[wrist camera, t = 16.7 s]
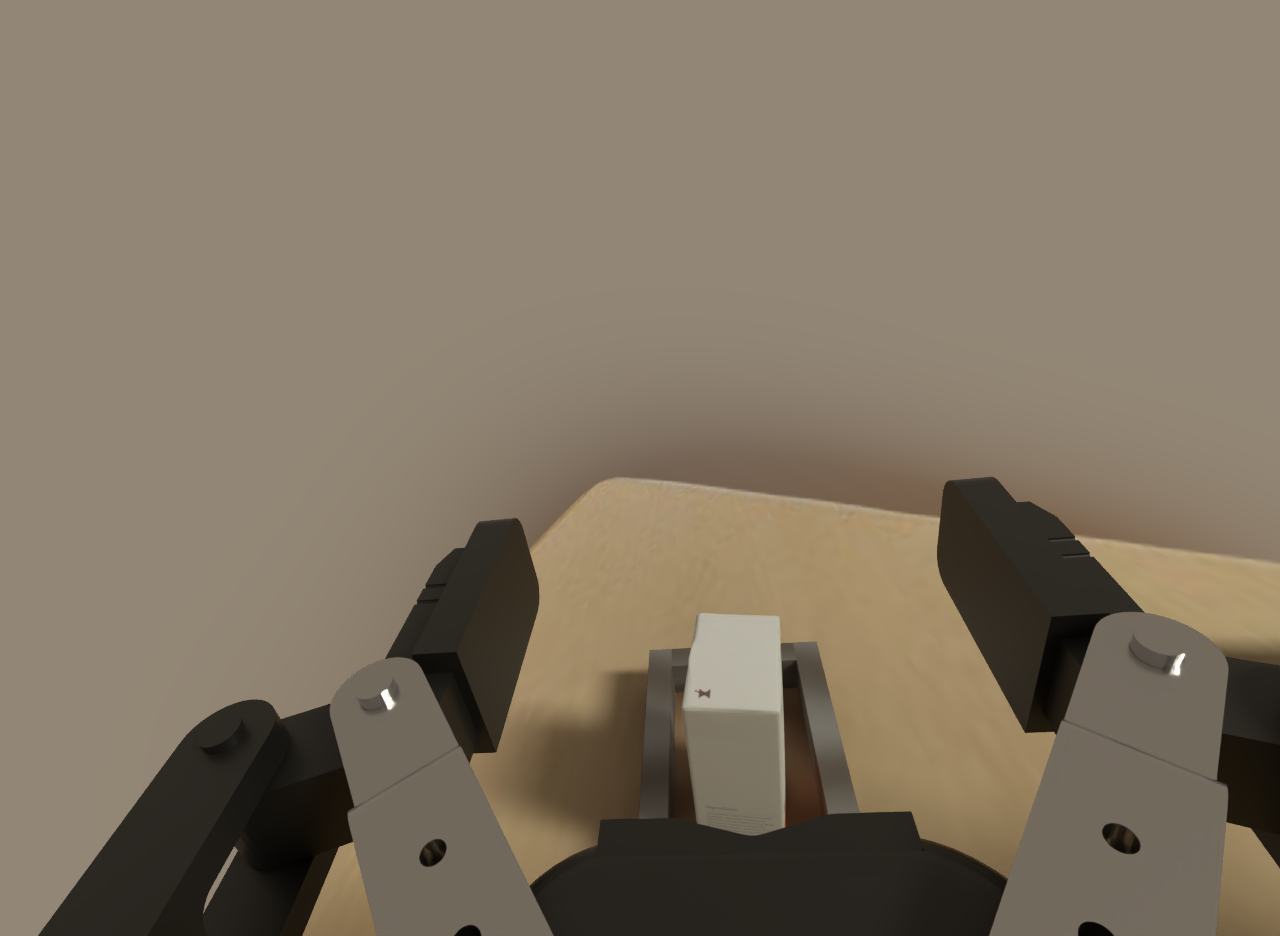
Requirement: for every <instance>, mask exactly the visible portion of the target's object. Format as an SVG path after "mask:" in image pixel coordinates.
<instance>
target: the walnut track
mask: <svg viewBox="0 0 1280 936" xmlns="http://www.w3.org/2000/svg"><path fill="white" fill-rule="evenodd" d="M690 650H691V648H683V649H664V650H650V654H649V669H648V684H647V699H646V715H645V730H644V745H643V760H642V775H641V791H640V806H639V819H650V818H676V819H680V820H685V821H689V822H693V823H697V821H696V812H695V805H694V797H693V790H692V782H691V776H690V768H689V760H688V753H687V746H686V740H685V733H684V725H683V715H682V703H683V696H684V689H685V683H686V676H687V670H688V660H689V654H690ZM781 661H782V685H783V713H784V746H785V827H788V826H791V825H795V824H798V823H802V822H805V821H808V820H812V819H815V818H818V817H822V816H825V815H829V814H837V813H859V809H858V805H857V801H856V797H855V793H854V789H853V785H852V781H851V777H850V773H849V769H848V765H847V762H846V758H845V754H844V750H843V746H842V742H841V738H840V734H839V730H838V726H837V722H836V718H835V714H834V710H833V706H832V702H831V698H830V694H829V690H828V686H827V682H826V678H825V674H824V670H823V666H822V662H821V658H820V654H819V650H818V646H817V642H798V643H781Z"/></svg>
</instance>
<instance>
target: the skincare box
mask: <svg viewBox="0 0 1280 936" xmlns="http://www.w3.org/2000/svg"><path fill="white" fill-rule="evenodd" d="M682 715H683V725H684V733H685V740H686V746H687V753H688V760H689V768H690V776H691V782H692V790H693V797H694V805H695V812H696V821H697V824H702V825H706V826H710V827H714V828H718V829H723V830H727V831H731V832H735V833H739V834H744V835H750V836H754V835H761V834H764V833H768V832H771V831H775V830H778V829H781V828H785V746H784V713H783V685H782V661H781V639H780V618H779V617H778V616H765V615H733V614H710V613H699V614H698V615H697V618H696V624H695V631H694V636H693V642H692V647H691V650H690V654H689V660H688V670H687V676H686V683H685V689H684V696H683V703H682Z"/></svg>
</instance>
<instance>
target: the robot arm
mask: <svg viewBox="0 0 1280 936" xmlns="http://www.w3.org/2000/svg"><path fill="white" fill-rule="evenodd" d="M1089 553H1090V552H1089V551H1088V550H1087V549H1086V548H1085V547H1084V546H1083V545H1082V544H1081V543H1080V542H1079V540H1075V536H1074V535H1073V534H1072V533H1071V532H1070V531H1069V530H1068V528H1067V527H1066V526H1065V525H1064V524H1063V523H1062V522H1061V521H1060V520H1059V519H1058V518H1057V517H1056V516H1054V515H1053V514H1051V513H1049V512H1047V511H1045V510H1044V509H1042V508H1040V507H1038V506H1036V505H1035V504H1033V503H1031V502H1016V501H1015V500H1014V499H1013V498H1012V497H1011V495H1010V494H1009V493H1008V492H1007V491H1006V489H1005V488H1004V487H1003V486H1002V485H1001V484H1000V482H999V481H998V480H997V479H996V478H994V477H984V478H973V479H962V480H952V481H948V482H946V484H945V486H944V490H943V497H942V507H941V516H940V526H939V536H938V545H937V561H938V567H939V572H940V576H941V579H942V581H943V583H944V585H945V587H946V589H947V591H948V593H949V595H950V596H951V598H952V600H953V602H954V604H955V606H956V607H957V609H958V611H959V613H960V615H961V617H962V618H963V620H964V622H965V624H966V626H967V627H968V629H969V631H970V633H971V635H972V637H973V638H974V640H975V642H976V644H977V646H978V648H979V649H980V651H981V653H982V655H983V657H984V659H985V660H986V662H987V664H988V666H989V668H990V670H991V671H992V673H993V675H994V677H995V679H996V681H997V682H998V684H999V686H1000V688H1001V690H1002V691H1003V693H1004V695H1005V697H1006V699H1007V701H1008V702H1009V704H1010V706H1011V708H1012V710H1013V712H1014V713H1015V715H1016V717H1017V719H1018V721H1019V723H1020V724H1021V726H1022V728H1023V730H1024V732H1025V733H1033V732H1055V734H1056V738H1055V741H1054V744H1053V747H1052V750H1051V753H1050V756H1049V759H1048V762H1047V765H1046V768H1045V771H1044V774H1043V777H1042V780H1041V783H1040V786H1039V789H1038V792H1037V795H1036V798H1035V801H1034V804H1033V807H1032V810H1031V812H1030V815H1029V818H1028V821H1027V824H1026V827H1025V830H1024V833H1023V836H1022V839H1021V842H1020V845H1019V848H1018V851H1017V854H1016V857H1015V860H1014V863H1013V866H1012V869H1011V872H1010V875H1009V878H1008V879H1007V878H1005V877H1004V876H1003V875H1001V874H1000V873H998V872H997V871H995V870H994V869H992V868H990V867H989V866H987V865H985V864H983V863H982V862H980V861H978V860H977V859H975V858H973V857H971V856H968V855H966V854H964V853H962V852H960V851H958V850H955V849H953V848H950V847H947V846H944V845H942V844H939V843H936V842H933V841H929V840H925V839H921V838H920V837H919V834H918V831H917V828H916V825H915V821H914V818H913V815H912V812H875V813H837V814H829V815H825V816H822V817H818V818H815V819H812V820H808V821H805V822H802V823H798V824H795V825H791V826H788V827H785V828H781V829H778V830H775V831H771V832H768V833H764V834H761V835H754V836H750V835H744V834H739V833H735V832H731V831H727V830H723V829H718V828H714V827H710V826H706V825H702V824H697V823H693V822H689V821H685V820H680V819H676V818H650V819H612V820H601V822H600V831H599V839H598V845H597V846H594V847H591V848H588V849H585V850H583V851H581V852H579V853H576V854H574V855H572V856H570V857H568V858H566V859H565V860H563V861H561V862H560V863H558V864H556V865H555V866H553V867H552V868H551V869H549V870H548V871H547V872H545V873H544V874H543V875H541V876H540V877H539V878H538V879H537V880H535V881H534V882H533V883H532V884H531V885H530V886H529V885H528V882H527V880H526V878H525V876H524V874H523V872H522V870H521V868H520V866H519V864H518V862H517V860H516V858H515V856H514V854H513V852H512V850H511V848H510V846H509V844H508V842H507V840H506V838H505V836H504V833H503V831H502V829H501V827H500V825H499V823H498V821H497V819H496V817H495V815H494V813H493V811H492V809H491V807H490V805H489V803H488V801H487V799H486V797H485V795H484V793H483V791H482V789H481V787H480V784H479V782H478V780H477V778H476V776H475V774H474V772H473V770H472V768H471V766H470V761H471V758H472V755H473V753H494V752H497V748H498V745H499V741H500V738H501V735H502V731H503V728H504V724H505V721H506V717H507V714H508V711H509V707H510V704H511V700H512V697H513V694H514V690H515V687H516V683H517V680H518V677H519V673H520V670H521V666H522V663H523V660H524V656H525V653H526V649H527V646H528V643H529V639H530V636H531V632H532V629H533V625H534V622H535V619H536V615H537V612H538V607H539V585H538V580H537V576H536V572H535V569H534V565H533V562H532V558H531V555H530V551H529V548H528V545H527V541H526V537H525V534H524V531H523V527H522V525H521V523H520V521H519V520H518V519H517V518H514V519H503V520H491V521H481V522H479V523H478V524H477V525H476V527H475V529H474V531H473V533H472V535H471V537H470V539H469V541H468V543H467V545H466V547H465V548H456V549H454V550H453V551H452V552H451V553H449V555H447V556H446V557H445V558H444V559H443V560H442V561H441V562H440V563H439V564H437V565H436V567H435V568H434V570H433V572H432V574H431V576H430V578H429V579H428V581H427V583H426V589H423V590H422V593H421V594H420V596H419V598H418V600H417V605H414V607H413V609H412V611H411V612H410V614H409V616H408V618H407V620H406V622H405V624H404V625H403V627H402V629H401V631H400V632H399V634H398V636H397V638H396V640H395V642H394V643H393V645H392V647H391V649H390V651H389V653H388V654H387V656H386V658H385V659H383V660H380V661H377V662H374V663H372V664H370V665H368V666H366V667H364V668H362V669H360V670H359V671H357V672H356V673H355V674H353V675H352V676H351V677H350V678H348V679H347V680H346V681H345V682H344V683H343V684H342V685H341V687H340V688H339V689H338V691H337V692H336V694H335V695H334V697H333V699H332V702H331V704H328V705H325V706H322V707H319V708H315V709H312V710H309V711H306V712H303V713H299V714H296V715H293V716H290V717H287V718H284V719H280V717H279V716H278V714H277V713H276V711H275V709H274V708H273V706H272V705H271V704H269V703H268V702H266V701H263V700H247V701H242V702H238V703H235V704H232V705H230V706H227V707H225V708H223V709H221V710H219V711H217V712H215V713H214V714H212V715H210V716H209V717H207V718H206V719H205V720H203V721H202V722H200V723H199V724H198V725H197V726H196V727H194V728H193V729H192V730H191V731H190V732H189V733H188V734H187V735H186V737H185V738H184V739H183V740H182V741H181V743H180V744H179V745H178V747H177V748H176V749H175V751H174V752H173V753H172V755H171V756H170V758H169V759H168V760H167V762H166V763H165V764H164V766H163V767H162V768H161V770H160V771H159V772H158V774H157V775H156V776H155V778H154V779H153V781H152V782H151V783H150V785H149V786H148V788H147V789H146V790H145V791H144V793H143V794H142V796H141V797H140V798H139V800H138V801H137V802H136V804H135V805H134V806H133V808H132V809H131V810H130V812H129V813H128V814H127V816H126V817H125V819H124V820H123V821H122V823H121V824H120V825H119V827H118V828H117V829H116V831H115V832H114V834H113V835H112V836H111V838H110V839H109V840H108V842H107V843H106V844H105V846H104V847H103V849H102V850H101V851H100V853H99V854H98V855H97V857H96V858H95V859H94V861H93V862H92V864H91V865H90V866H89V867H88V869H87V870H86V871H85V873H84V874H83V876H82V877H81V878H80V880H79V881H78V882H77V884H76V885H75V886H74V888H73V889H72V890H71V892H70V893H69V895H68V896H67V897H66V899H65V900H64V901H63V903H62V904H61V906H60V907H59V908H58V909H57V911H56V912H55V914H54V915H53V916H52V918H51V919H50V920H49V922H48V923H47V924H46V926H45V927H44V929H43V930H42V931H41V933H40V934H39V935H38V936H302V935H303V932H304V930H305V928H306V925H307V923H308V920H309V918H310V915H311V913H312V911H313V908H314V906H315V903H316V901H317V899H318V896H319V894H320V891H321V889H322V887H323V884H324V882H325V879H326V877H327V874H328V872H329V870H330V867H331V865H332V862H333V860H334V858H335V855H336V853H337V850H338V848H339V847H340V846H343V845H345V844H348V843H351V842H354V846H355V850H356V854H357V858H358V862H359V866H360V870H361V874H362V878H363V882H364V886H365V890H366V894H367V898H368V902H369V906H370V910H371V914H372V918H373V922H374V926H375V930H376V934H377V936H1216V928H1217V917H1218V906H1219V895H1220V884H1221V873H1222V863H1223V852H1224V841H1225V830H1226V822H1228V823H1232V824H1236V825H1240V826H1245V827H1249V828H1251V829H1252V830H1253V832H1254V833H1255V834H1256V836H1257V837H1258V839H1259V840H1260V841H1261V843H1262V844H1263V845H1264V847H1265V848H1266V850H1267V851H1268V852H1269V854H1270V855H1271V857H1272V858H1273V859H1274V861H1275V862H1276V864H1277V865H1278V866H1279V868H1280V666H1278V665H1272V664H1265V663H1259V662H1253V661H1246V660H1240V659H1235V658H1230V657H1225V656H1224V655H1223V653H1222V652H1221V650H1220V649H1219V648H1218V647H1217V646H1216V645H1215V644H1214V643H1213V642H1212V641H1211V640H1209V639H1208V638H1207V637H1206V636H1204V635H1203V634H1201V633H1200V632H1198V631H1196V630H1194V629H1193V628H1191V627H1189V626H1187V625H1185V624H1182V623H1180V622H1178V621H1175V620H1172V619H1169V618H1166V617H1163V616H1159V615H1155V614H1149V613H1144V611H1143V610H1142V609H1141V608H1140V607H1139V606H1138V605H1137V604H1136V603H1135V602H1134V600H1133V599H1132V598H1131V597H1130V596H1129V595H1128V594H1127V593H1126V592H1125V591H1124V590H1123V588H1122V587H1121V586H1120V585H1119V584H1118V583H1117V582H1116V581H1115V580H1114V579H1113V578H1112V576H1111V575H1110V574H1109V573H1108V572H1107V571H1106V570H1105V569H1104V568H1103V567H1102V566H1101V564H1100V563H1099V562H1098V561H1097V560H1096V559H1095V558H1094V557H1090V554H1089ZM234 846H235V848H236V849H237V850H238V852H237V854H236V855H235V857H234V859H233V861H232V863H231V865H230V867H229V868H228V870H227V872H226V874H225V875H224V877H223V879H222V881H221V883H220V884H219V887H218V888H217V890H216V892H215V894H214V895H213V898H212V899H211V901H210V903H209V905H208V906H207V908H206V910H205V912H204V914H203V911H204V905H205V902H206V898H207V895H208V893H209V891H210V889H211V887H212V885H213V883H214V881H215V880H216V878H217V876H218V874H219V872H220V871H221V869H222V867H223V865H224V864H225V862H226V859H227V858H228V856H229V855H230V853H231V851H232V849H233V847H234Z"/></svg>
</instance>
